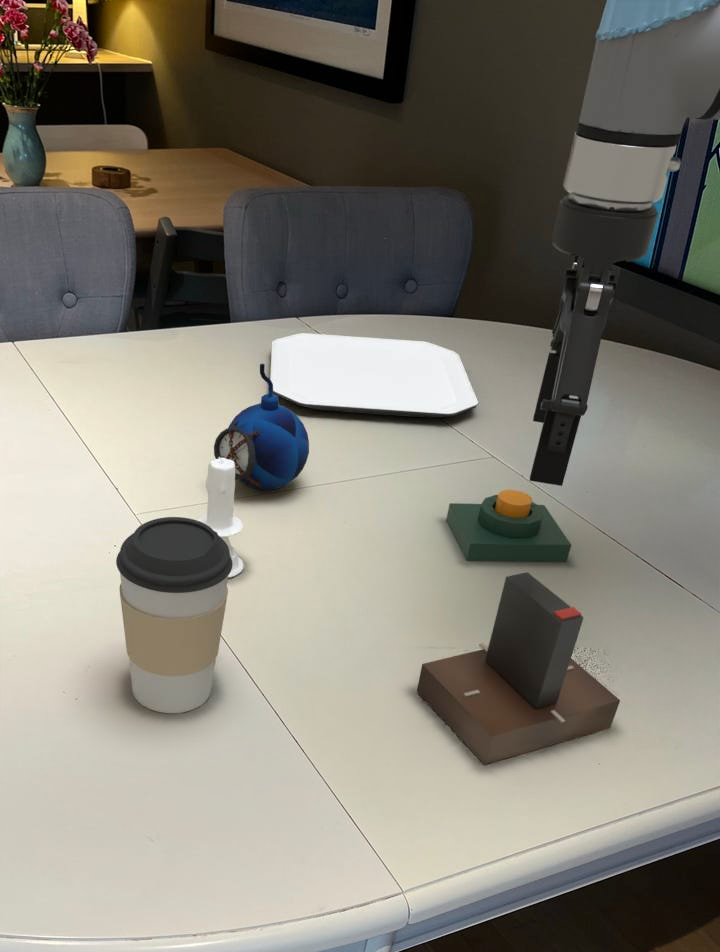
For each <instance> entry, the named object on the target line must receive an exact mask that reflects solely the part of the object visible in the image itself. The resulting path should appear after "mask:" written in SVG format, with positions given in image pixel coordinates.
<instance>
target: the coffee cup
mask: <svg viewBox="0 0 720 952" xmlns="http://www.w3.org/2000/svg"><path fill="white" fill-rule="evenodd" d="M197 520H198V519H193V518H189V517H181V516H165V517H159V518H155V519H151V520H149V521H146V522H143V524H140V526H138V527H137V528H136V529H135V530H134V532H133V533H131V534H130V535H129V536H128V537H126V539H125V540H124V541H123V542H122V544H121V546H120V549H119V552H118V554H117V556H116V559H115V564H116V568H117V570H118V571H119V576H120V577H119V578H120V584H119V598H120V607H121V614H122V622H123V629H124V630H123V631H124V632H123V633H124V640H125V647H126V654H127V656H128V661H129V670H130V679H131V680H130V681H131V689H132V694H133V697H134V698H135V699H136V701H137V702H138V703H139V704H140V705H142V706H143V707H145V708H147V709H148V710H151V711H155V712H158V713H162V714H180V713H181V714H182V713H186V712H190V711H192V710H195V709H197V708H199V707H201V706H202V705H203V704H205V703H206V701H207V700H208V699H209V698H210V695H211V692H212V688H213V687H212V686H213V681H214V676H215V675H214V674H215V667H216V660H217V657H218V654H219V649H220V643H221V638H222V630H223V626H224V625H223V624H224V619H225V612H226V606H227V601H228V595H229V588H228V580H229V578H228V575H229V574H230V572H231V570H232V565H233V563H232V559H231V556H230V551H229V548H228V545H227V544H226V542H225V541H224V540H223V539H222V538H221V537H220V536H219V535H218V534H217V532H215V531H214V530H213V529H212V528H210V527H209V526H208V525H206V524H204V523H202V522H200V521H197Z"/></svg>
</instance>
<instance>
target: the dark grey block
mask: <svg viewBox="0 0 720 952" xmlns="http://www.w3.org/2000/svg"><path fill="white" fill-rule="evenodd" d="M497 607H498V608H497V611H496V615H495V620H494V622H493V628H492V630H491V636H490V639H489V642H488V647H487V648H488V651H487V655H486V658H485V661H486V662H487V663H489V664H490V665H491V666H492V667H493V668H494V669H495V670H496V671H497V672H498V673H499V674H500V675H501V676H502V677H503V678H504V679H505V680H506V681H507V682H508V683H509V684H510V685H511V686H513V687H514V688H515V689H516V690H517V691H518V692H519V693H520V694H521V695H522V696H523V697H524V698H525V699H526V700H527V701H528V702H529V703H530V704H531V705H532V706H533V707H534V708H540V707H544V706H547V705H551V704H555V703H557V701H558V698H559V694H560V691H561V688H562V685H563V682H564V679H565V675H566V672H567V669H568V666H569V663H570V659H571V658H572V656H573V653H574V650H575V647H576V644H577V640H578V636H579V634H580V631H581V628H582V625H583V622H584V616H583V615H582V613H581V612H580V611H579V610H578V609H576V608H575V607H574V606H572V607H571V606H570V605H569V604H568V603H567V602H565V600H563V599H562V598H561V597H559V596H558V595H557V594H555V593H554V592H553V591H551V590H550V589H549V588H548V587H547V586H545V585H544V583H542V582H541V581H539V580H538V579H537V578H536V577H534V576H533V575H532V574H530V573H529V572H527V571H526V572H521V573H517V574H512V575H508V576H507V575H506V576H505V579H504V584H503V588H502V592H501V595H500V599H499V604H498V606H497Z"/></svg>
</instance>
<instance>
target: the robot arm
mask: <svg viewBox="0 0 720 952" xmlns="http://www.w3.org/2000/svg"><path fill="white" fill-rule="evenodd" d="M595 39H596V41H595V45H594V50H593V55H592V60H591V64H590V69H589V73H588V78H587V82H586V83H587V84H586V87H585V92H584V96H583V100H582V106H581V110H580V115H579V120H578V125H577V127H576V128H577V129H576V131H575V132H574V134H573V135H574V136H573V140H572V144H571V150H570V152H569V156H568V161H567V166H566V169H565V174H564V177H563V183H562V187H563V188H564V190H565V191H566V192H567V193H568V194H567V195H565V196H563V198H562V199H560V200H559V204H558V208H557V213H556V217H555V221H554V225H553V229H552V233H551V234H552V235H551V244H552V246H553V247H554V248H555V249H557V251H560V252H561V253H564V254H566V255H569V256H573V258H572V264H571V267H570V268H566V269H565V272H564V275H563V279H562V286H561V290H562V291H561V294H560V295H561V296H560V301H559V310H558V313H557V317H556V321H555V324H554V327H552V329H551V334H552V338H551V339H552V340H550V351H553V352H548V355H547V360H546V364H545V368H544V372H543V376H542V381H541V384H540V389H539V392H538V397H537V400H536V406H535V410H534V413H533V417H532V420H533V421H532V422H534V423H541V424H542V427H541V431H540V435H539V438H538V444H537V447H536V452H535V455H534V459H533V464H532V467H531V471H530V475H529V482H533V483H541V484H547V485H553V486H559V487H562V486H563V484H564V480H565V477H566V473H567V471H568V466H569V463H570V460H571V459H570V458H571V455H572V451H573V447H574V443H575V441H576V440H575V439H576V436H577V433H578V429H579V426H580V425H579V424H580V421H581V418H582V417H584V415H585V414H586V413H587V411H588V407H589V406H588V400H589V396H590V391H591V387H592V381H593V377H594V374H595V369H596V364H597V359H598V355H599V350H600V345H601V341H602V337H603V332H604V329H605V327H606V325H607V320H608V315H609V310H610V306H611V304H612V302H613V300H614V298H615V295H616V290H617V285H618V283H617V282H615V278H616V274H613V273H611V272H612V268H613V267H612V266H613V265H614V264H615V263H618V262H624V263H628V262H629V263H630V262H635V261H638V260H641V259H642V258H644V257H645V256H647V254H648V251H649V248H650V244H651V242H652V237H653V235H654V231H655V227H656V223H657V220H658V216H659V212H658V209H657V208H656V206H655V205H653V204H654V203H656V202H659V201H660V200H661V199H662V198H663V197H664V192H665V189H666V185H667V182H668V176H667V174H668V173H667V172H671V173H672V172H673V173H674V172H677V171H678V170H680V168H681V167H680V166H681V164H682V163H681V158H679V157H677V156H676V157H675V156H674V155H675V153H676V149H677V145H678V144H679V143H680V139H681V136H682V130H683V128H684V125H685V123H686V120H687V119H696V120H705V121H707V120H718V121H720V0H606V3H605V6H604V9H603V12H602V16H601V19H600V23H599V27H598V29H597V30H596V33H595ZM570 396H572V397H573V398H572V397H570ZM575 397H576V398H575Z"/></svg>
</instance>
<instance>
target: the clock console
mask: <svg viewBox="0 0 720 952" xmlns="http://www.w3.org/2000/svg"><path fill="white" fill-rule="evenodd" d="M478 646H479V647H480V648H482V649H479V650H474V651H470V652H465V653H462V654H458V655H453V656H449V657H445V658H441V659H437V660H433V661H428V662H424V663H422V664H421V668H420V673H419V678H418V682H417V688H416V692H417V693H418V695H419V696H420V697H421V698H422V699H423V700H424V701H425V703H427V704H428V705H429V707H430V708H431V709H432V710H433V711H434V712H435V713H436V714H437V715H438V716H439V718H440V719H441V720H442V721H443V722H444V723H445V724H446V725H447V726H448V727H449V728H450V729H451V730H452V731H453V733H454V734H455V735H456V736H457V737H458V739H460V740H461V742H462V743H464V745H465V746H466V747H467V748H468V749H469V750H470V751H471V752H472V753H473V754H474V756H476V758H477V759H478V760H479V761H480V762H481V763H482V764H483V765H488V764H492V763H495V762H498V761H502V760H506V759H509V758H512V757H515V756H519V755H522V754H525V753H529V752H533V751H535V750H539V749H543V748H546V747H549V746H550V747H551V746H553V745H556V744H559V743H560V744H561V743H564V742H567V741H570V740H573V739H577V738H580V737H583V736H587V735H590V734H593V733H594V734H595V733H597V732H601V731H604V730H608V729H610V728H612V725H613V722H614V719H615V716H616V714H617V710H618V708H619V705H620V703H621V699H620V698H618V697H617V696H616V695H615V694H613V692H611V691H610V690H609V689H608V688H607V687H605V685H603V684H602V683H601V682H600V681H599V680H598V679H596V678H595V677H594V676H593V675H592V674H590V673H589V672H588V671H587V670H586V669H584V667H582V666H581V665H580V664H579V663H577V661H575V659H573V658H572V657H571V659H570V663H569V666H568V669H567V672H566V675H565V679H564V682H563V685H562V688H561V691H560V694H559V698H558V701H557V703H555V704H551V705H547V706H544V707H540V708H534V707H533V706H532V705H531V704H530V703H529V702H528V701H527V700H526V699H525V698H524V697H523V696H522V695H521V694H520V693H519V692H518V691H517V690H516V689H515V688H514V687H513V686H511V685H510V684H509V683H508V682H507V681H506V680H505V679H504V678H503V677H502V676H501V675H500V674H499V673H498V672H497V671H496V670H495V669H494V668H493V667H492V666H491V665H490V664H489V663H487V662H486V661H485V658H486V655H487V651H488V647H487V645H486V644H485V643H483V642H481V643H479V644H478Z"/></svg>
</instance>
